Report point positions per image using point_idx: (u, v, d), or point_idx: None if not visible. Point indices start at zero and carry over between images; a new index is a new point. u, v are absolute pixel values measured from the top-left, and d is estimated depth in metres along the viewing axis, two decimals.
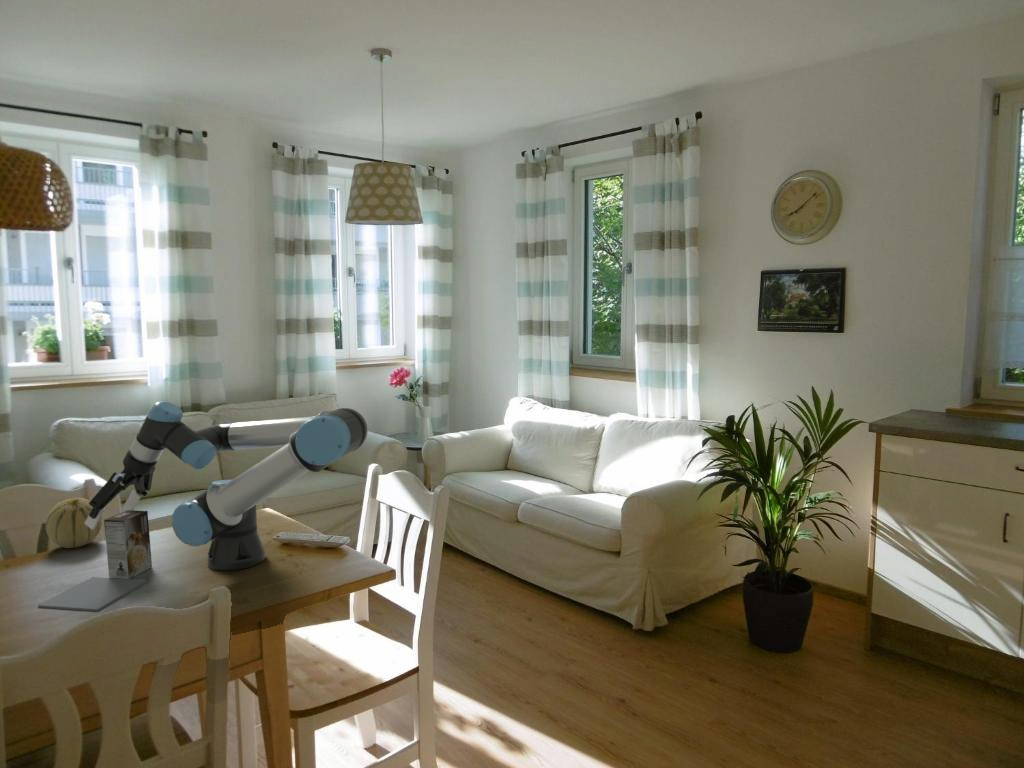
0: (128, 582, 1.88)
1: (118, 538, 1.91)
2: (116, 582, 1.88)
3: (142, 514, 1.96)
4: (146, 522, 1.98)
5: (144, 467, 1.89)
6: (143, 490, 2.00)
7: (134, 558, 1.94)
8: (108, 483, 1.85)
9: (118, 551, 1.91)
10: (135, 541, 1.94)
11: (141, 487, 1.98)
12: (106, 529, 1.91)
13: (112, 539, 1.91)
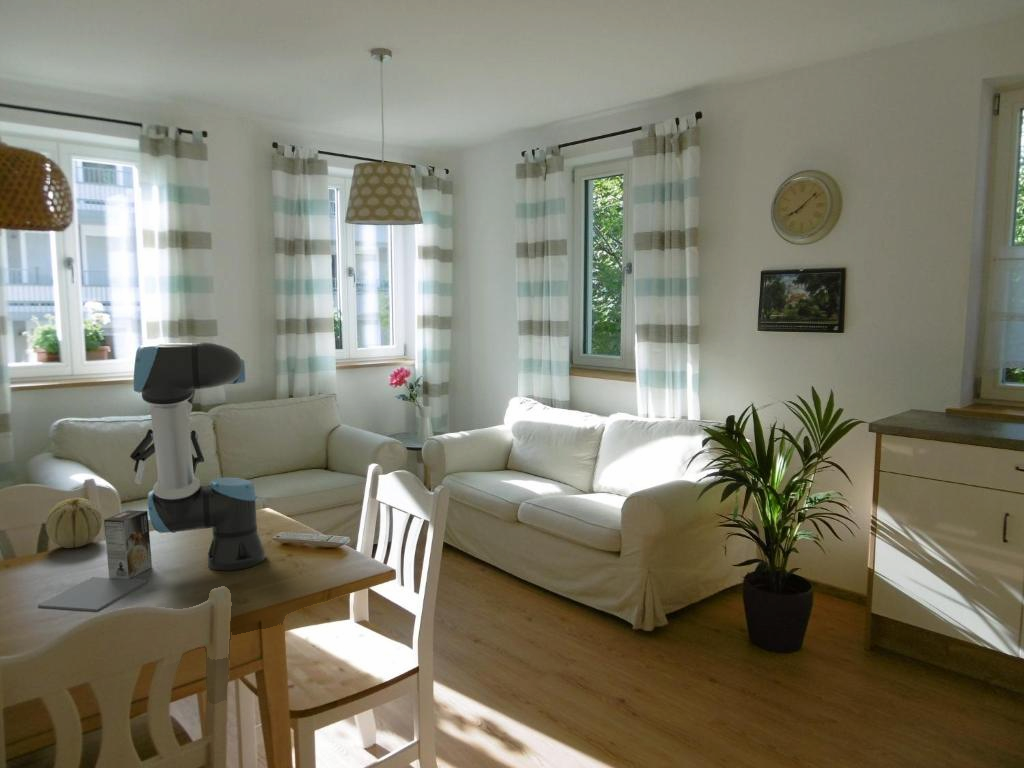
0: (128, 582, 1.88)
1: (118, 538, 1.91)
2: (116, 582, 1.88)
3: (142, 514, 1.96)
4: (146, 522, 1.98)
5: None
6: None
7: (134, 558, 1.94)
8: None
9: (118, 551, 1.91)
10: (135, 541, 1.94)
11: None
12: (106, 529, 1.91)
13: (112, 539, 1.91)
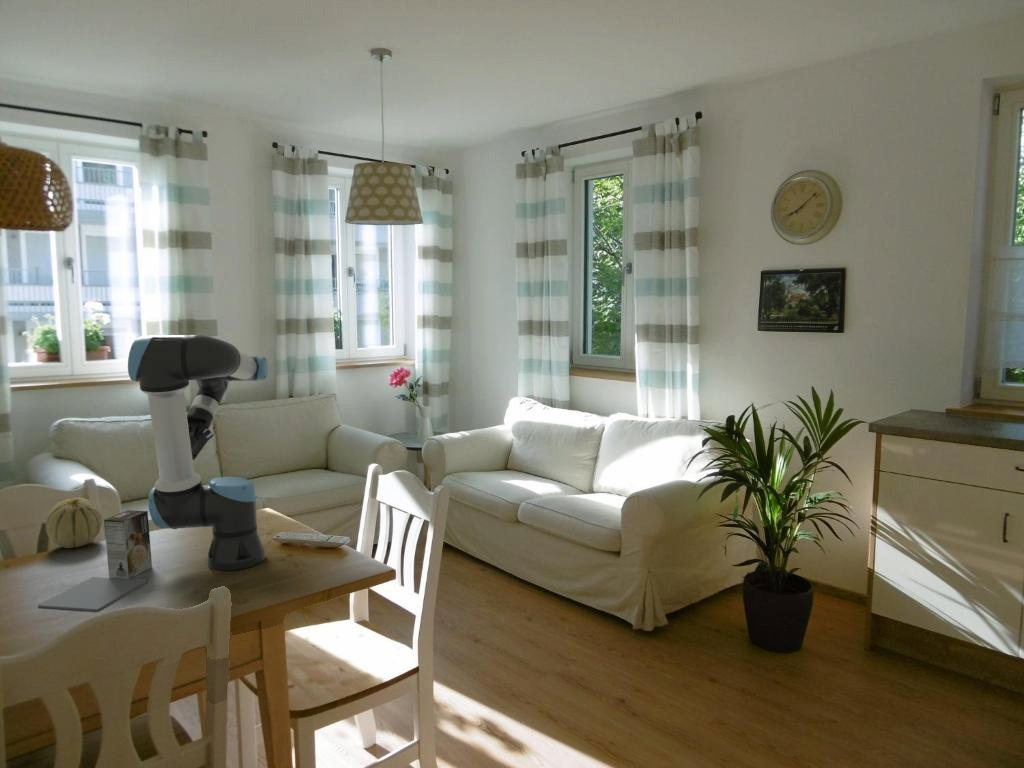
0: (128, 582, 1.88)
1: (118, 538, 1.91)
2: (116, 582, 1.88)
3: (142, 514, 1.96)
4: (146, 522, 1.98)
5: (189, 410, 2.25)
6: None
7: (134, 558, 1.94)
8: None
9: (118, 551, 1.91)
10: (135, 541, 1.94)
11: None
12: (106, 529, 1.91)
13: (112, 539, 1.91)
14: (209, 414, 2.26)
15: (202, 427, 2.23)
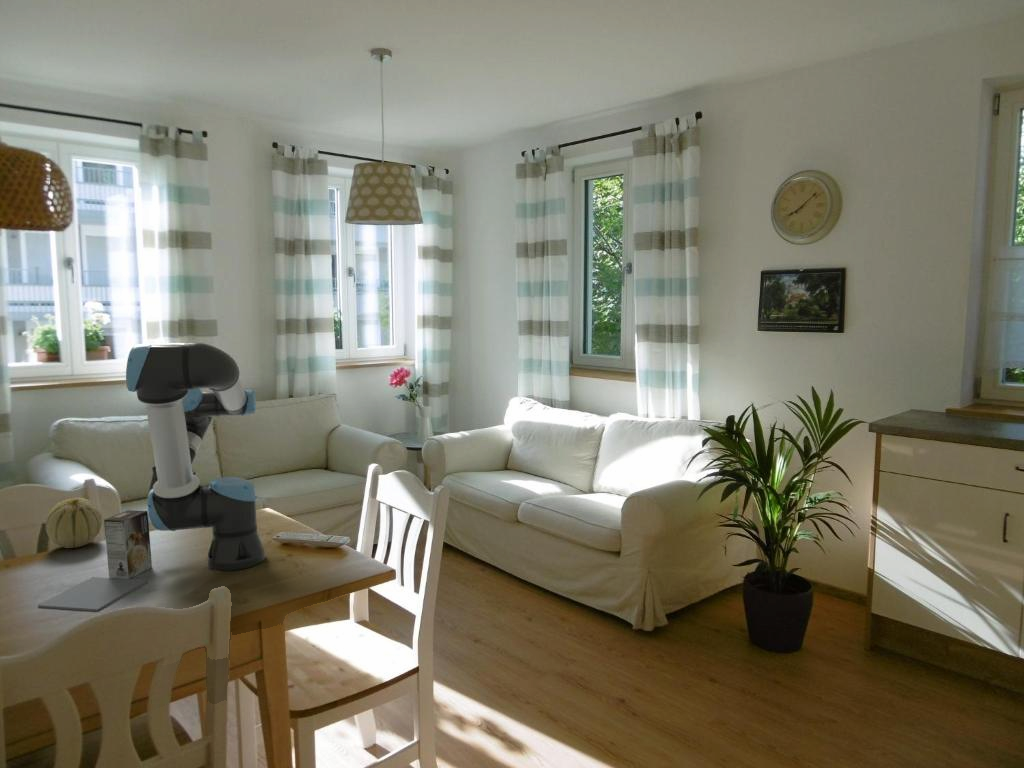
0: (128, 582, 1.88)
1: (118, 538, 1.91)
2: (116, 582, 1.88)
3: (142, 514, 1.96)
4: (146, 522, 1.98)
5: None
6: None
7: (134, 558, 1.94)
8: None
9: (118, 551, 1.91)
10: (135, 541, 1.94)
11: None
12: (106, 529, 1.91)
13: (112, 539, 1.91)
14: (191, 451, 2.17)
15: None
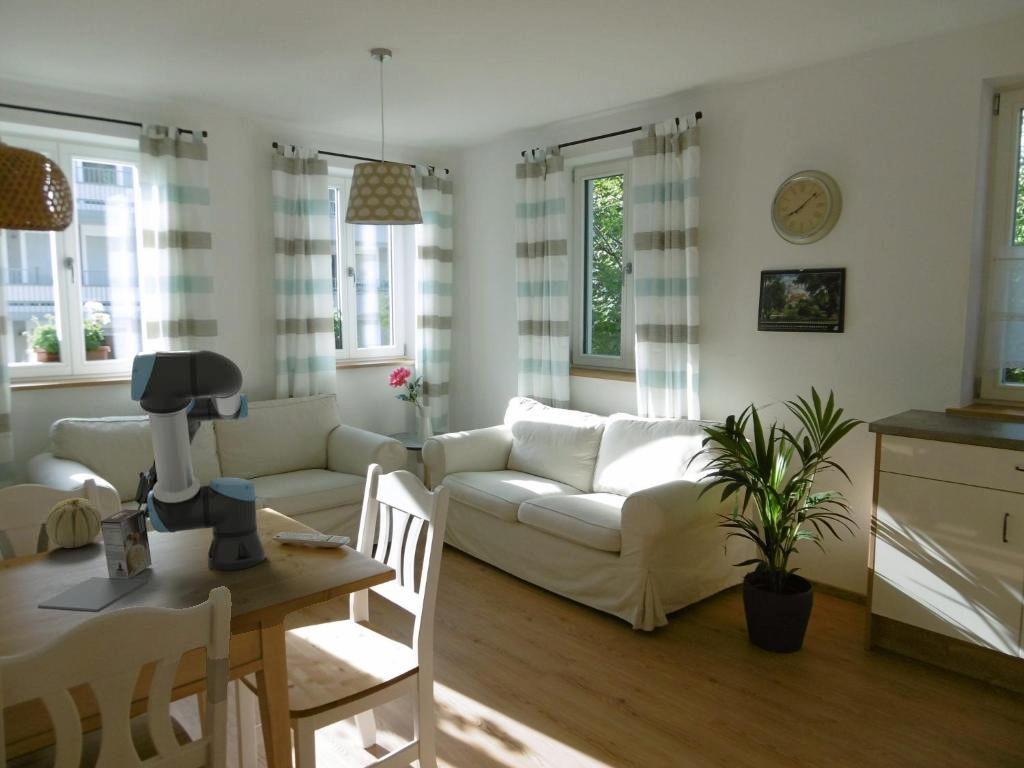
0: (128, 582, 1.88)
1: (116, 539, 1.90)
2: (116, 582, 1.88)
3: (139, 514, 1.95)
4: (143, 521, 1.97)
5: None
6: None
7: (133, 558, 1.93)
8: None
9: (116, 552, 1.91)
10: (133, 541, 1.93)
11: None
12: (103, 530, 1.90)
13: (110, 540, 1.90)
14: None
15: None
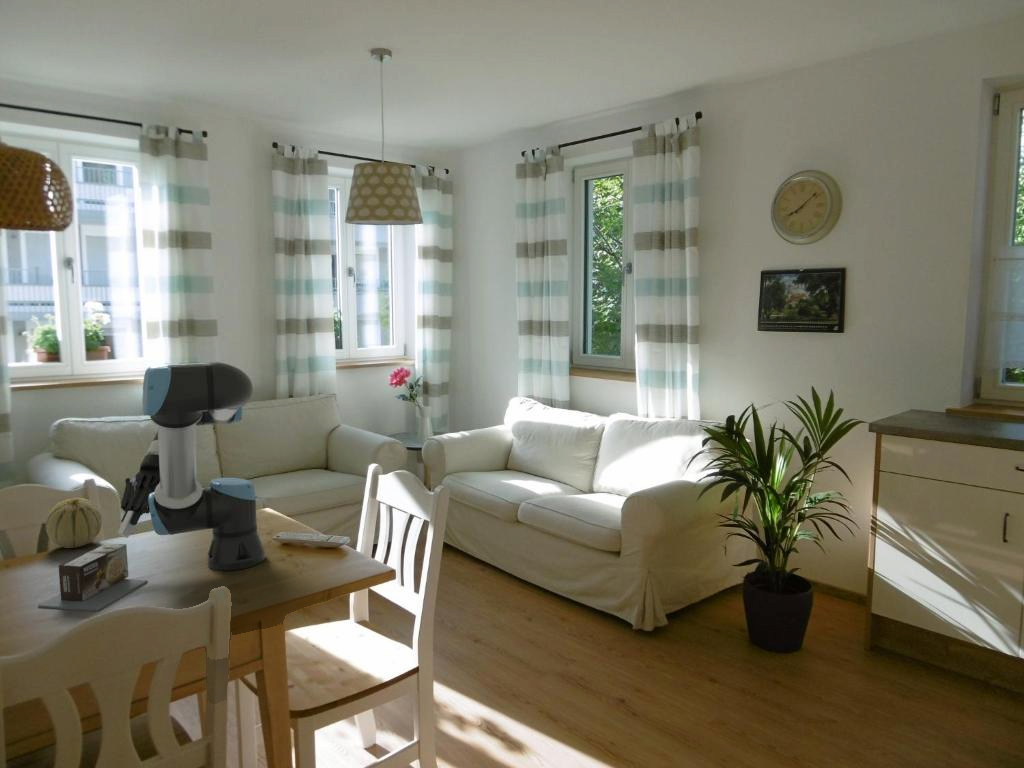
0: (128, 582, 1.88)
1: None
2: None
3: (81, 574, 1.76)
4: (89, 565, 1.78)
5: (144, 457, 2.05)
6: (138, 504, 1.97)
7: (115, 574, 1.87)
8: None
9: None
10: (102, 579, 1.82)
11: (140, 497, 1.99)
12: None
13: None
14: None
15: (158, 476, 2.03)
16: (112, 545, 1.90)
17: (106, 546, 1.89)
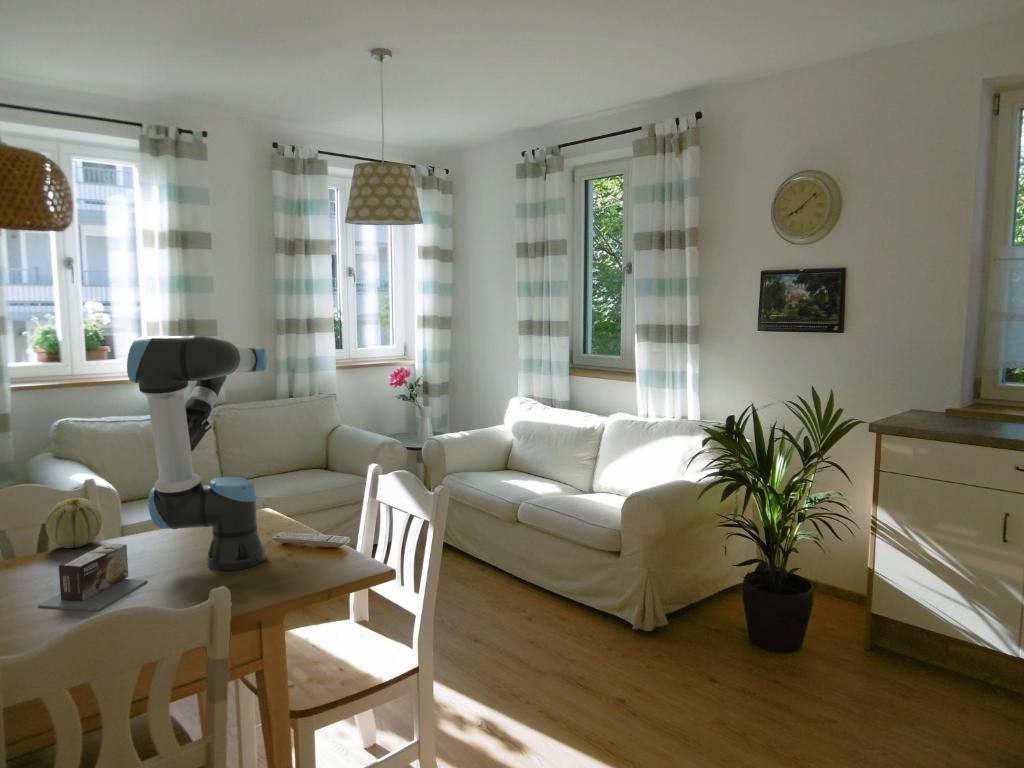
0: (128, 582, 1.88)
1: None
2: None
3: (82, 574, 1.76)
4: (90, 565, 1.78)
5: (187, 401, 2.25)
6: None
7: (115, 574, 1.87)
8: None
9: None
10: (102, 579, 1.82)
11: None
12: None
13: None
14: (207, 405, 2.25)
15: (200, 418, 2.22)
16: (112, 545, 1.90)
17: (106, 546, 1.89)
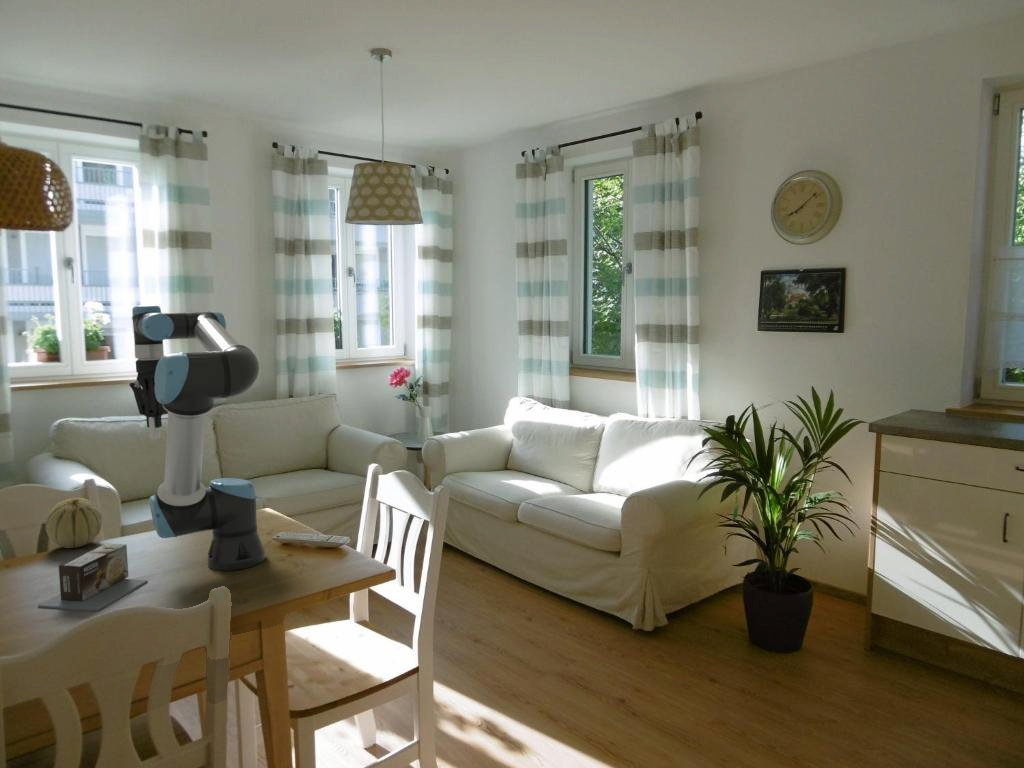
0: (128, 582, 1.88)
1: None
2: None
3: (82, 574, 1.76)
4: (90, 565, 1.78)
5: (136, 363, 2.10)
6: (155, 410, 2.13)
7: (115, 574, 1.87)
8: None
9: None
10: (102, 579, 1.82)
11: (152, 402, 2.13)
12: None
13: None
14: None
15: None
16: (112, 545, 1.90)
17: (106, 546, 1.89)
